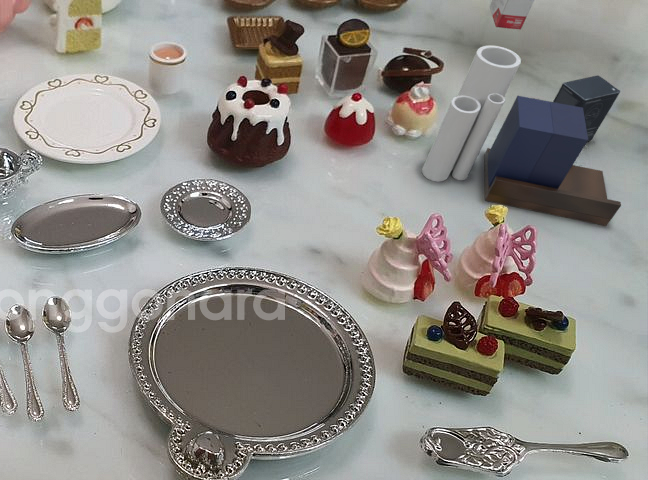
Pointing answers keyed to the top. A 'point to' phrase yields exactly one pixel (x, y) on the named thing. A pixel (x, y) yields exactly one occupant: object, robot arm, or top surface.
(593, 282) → the top surface
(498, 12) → the ink box
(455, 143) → the vase
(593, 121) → the box
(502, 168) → the matching cartons
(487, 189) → the shelf
